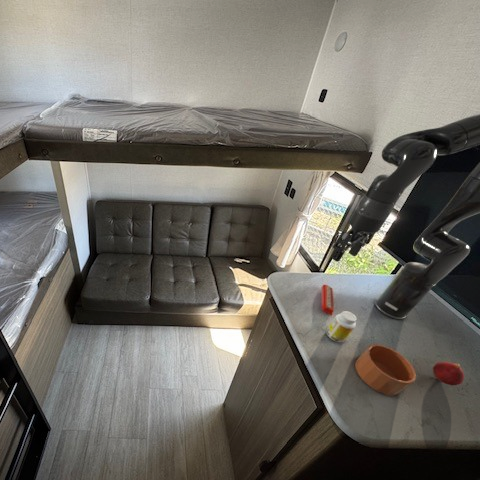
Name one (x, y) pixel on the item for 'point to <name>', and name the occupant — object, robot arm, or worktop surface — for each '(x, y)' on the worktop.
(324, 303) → the candy bar
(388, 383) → the orange-brown round open container
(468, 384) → the worktop surface
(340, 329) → the supplement bottle
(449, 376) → the red oval piece
